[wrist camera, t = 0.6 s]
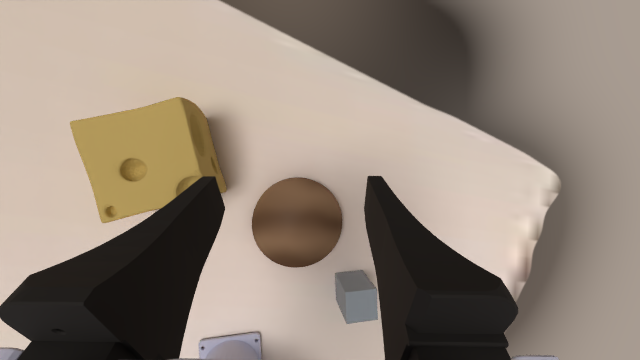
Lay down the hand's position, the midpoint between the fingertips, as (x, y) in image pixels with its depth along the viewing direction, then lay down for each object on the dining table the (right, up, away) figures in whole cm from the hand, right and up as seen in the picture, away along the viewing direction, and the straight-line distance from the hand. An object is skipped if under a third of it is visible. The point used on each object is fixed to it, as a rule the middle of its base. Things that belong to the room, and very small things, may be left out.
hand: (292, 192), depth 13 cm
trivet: (-2, -5, +25) cm, 26 cm away
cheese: (-17, +3, +22) cm, 28 cm away
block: (+6, -15, +27) cm, 31 cm away
